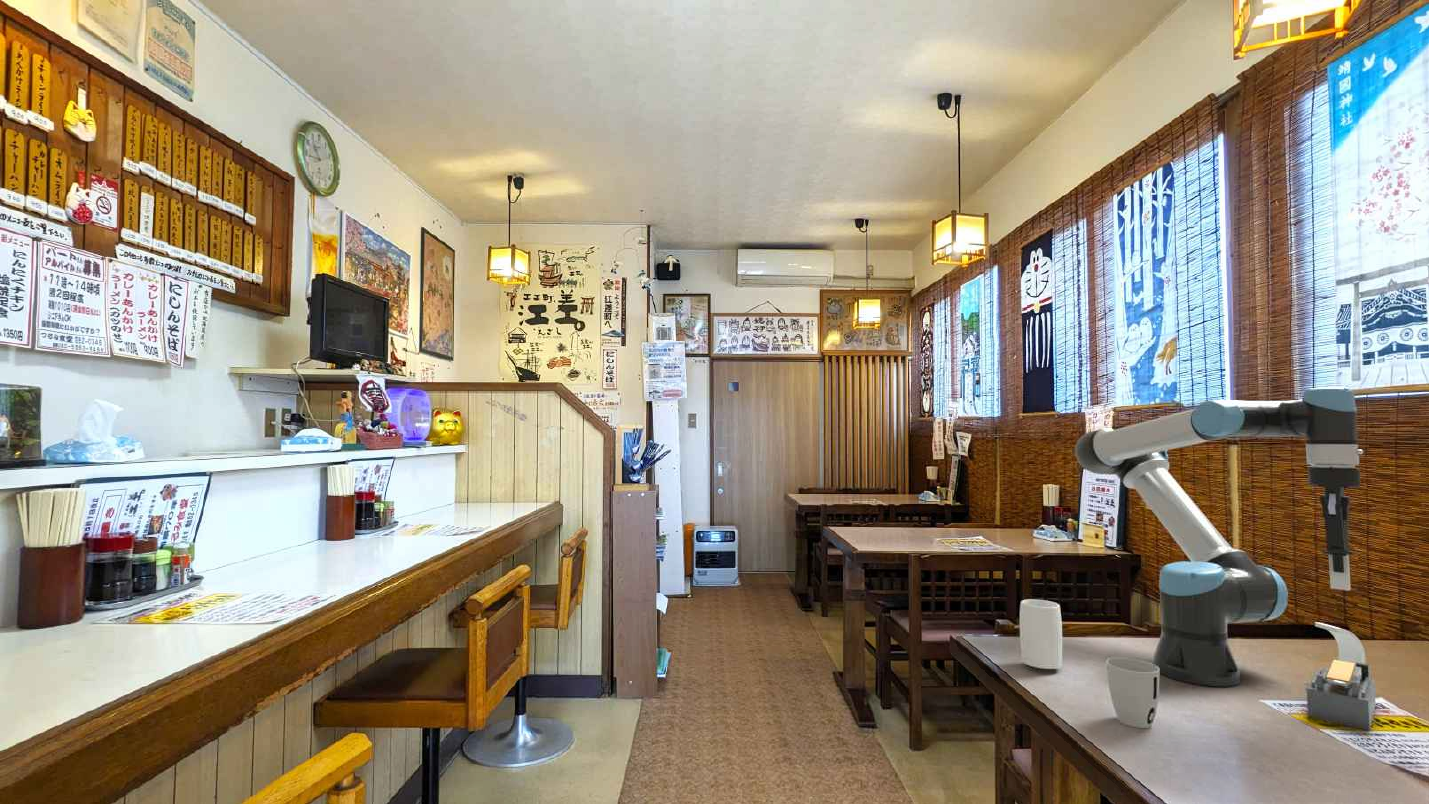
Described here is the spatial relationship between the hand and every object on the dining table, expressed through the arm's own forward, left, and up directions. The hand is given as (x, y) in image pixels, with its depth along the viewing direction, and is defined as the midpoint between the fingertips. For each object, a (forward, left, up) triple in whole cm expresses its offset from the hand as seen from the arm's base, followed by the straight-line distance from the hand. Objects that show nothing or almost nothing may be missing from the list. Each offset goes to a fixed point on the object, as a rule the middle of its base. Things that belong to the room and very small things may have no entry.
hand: (1340, 588), depth 127 cm
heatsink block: (-3, -4, -22) cm, 22 cm away
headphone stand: (+6, +13, -22) cm, 26 cm away
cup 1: (-52, +4, -22) cm, 57 cm away
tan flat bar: (-2, -3, -16) cm, 16 cm away
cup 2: (-41, -22, -22) cm, 52 cm away
